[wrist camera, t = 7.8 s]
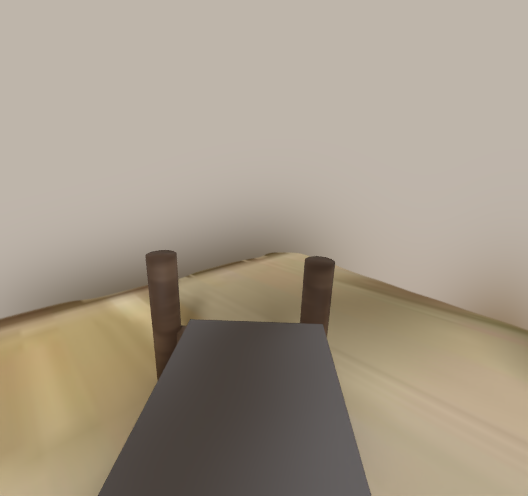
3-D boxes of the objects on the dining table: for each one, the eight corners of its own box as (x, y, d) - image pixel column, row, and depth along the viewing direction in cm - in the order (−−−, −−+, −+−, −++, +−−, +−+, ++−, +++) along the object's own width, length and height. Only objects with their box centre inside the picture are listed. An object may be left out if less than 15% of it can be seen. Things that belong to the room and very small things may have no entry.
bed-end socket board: (318, 381, 28) (331, 256, 25) (347, 531, 17) (380, 342, 13) (164, 373, 29) (153, 249, 25) (91, 514, 17) (49, 326, 14)
